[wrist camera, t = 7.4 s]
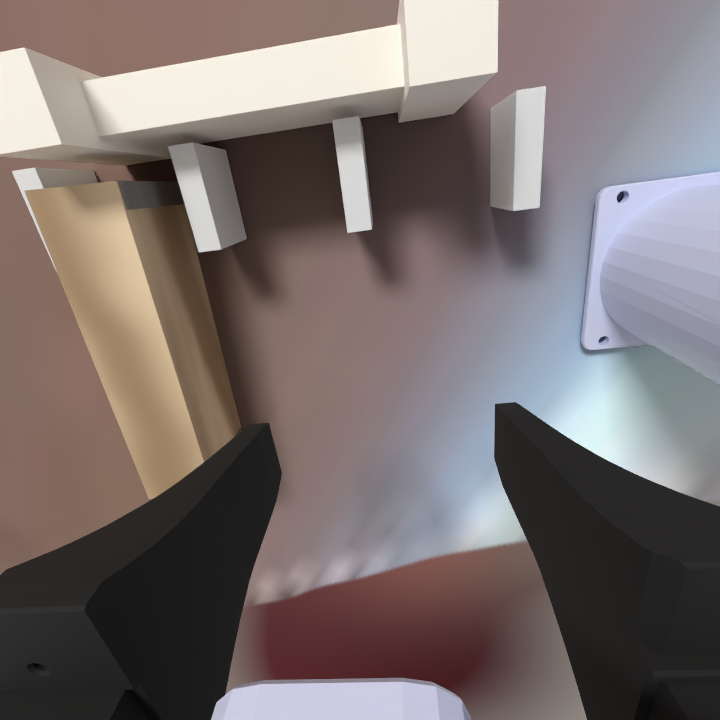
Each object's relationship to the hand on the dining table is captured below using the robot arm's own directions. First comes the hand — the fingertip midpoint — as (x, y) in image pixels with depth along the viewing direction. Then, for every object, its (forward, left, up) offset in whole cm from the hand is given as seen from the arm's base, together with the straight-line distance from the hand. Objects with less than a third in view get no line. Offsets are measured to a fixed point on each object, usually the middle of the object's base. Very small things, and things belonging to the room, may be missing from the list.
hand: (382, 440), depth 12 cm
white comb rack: (+4, -9, -10) cm, 14 cm away
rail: (+11, -1, -10) cm, 15 cm away
